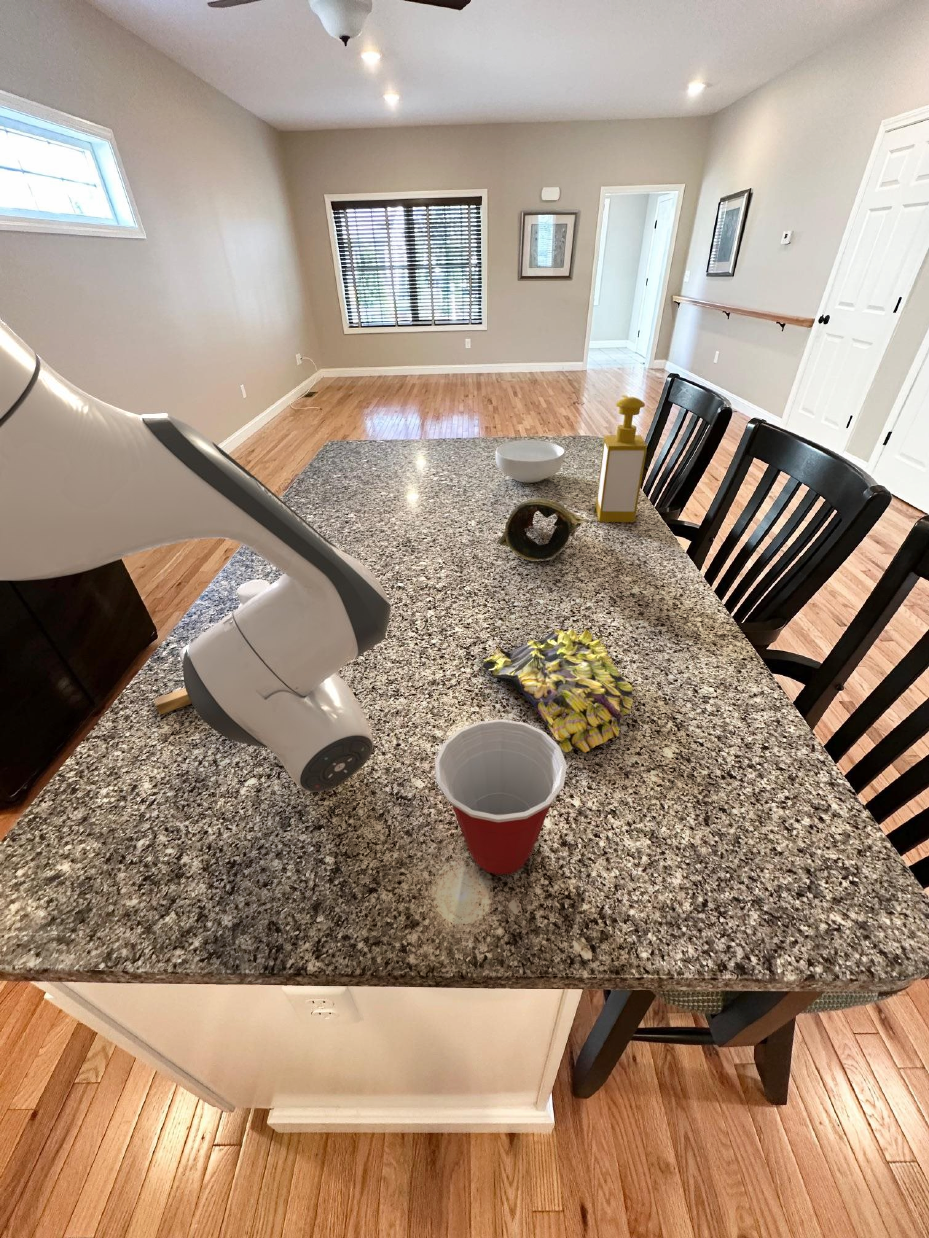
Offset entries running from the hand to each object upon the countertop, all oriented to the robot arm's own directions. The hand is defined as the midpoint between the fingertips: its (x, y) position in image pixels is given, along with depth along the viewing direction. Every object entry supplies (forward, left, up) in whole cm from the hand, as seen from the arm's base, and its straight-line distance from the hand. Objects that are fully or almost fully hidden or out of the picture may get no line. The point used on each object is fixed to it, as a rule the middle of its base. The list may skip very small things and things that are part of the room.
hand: (260, 612), depth 67 cm
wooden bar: (-10, -1, -9) cm, 13 cm away
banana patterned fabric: (+29, -26, -9) cm, 40 cm away
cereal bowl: (+74, +39, -9) cm, 84 cm away
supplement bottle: (0, -1, -6) cm, 6 cm away
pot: (+52, +6, -9) cm, 53 cm away
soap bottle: (+76, +12, -9) cm, 78 cm away
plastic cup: (+11, -39, -9) cm, 41 cm away
